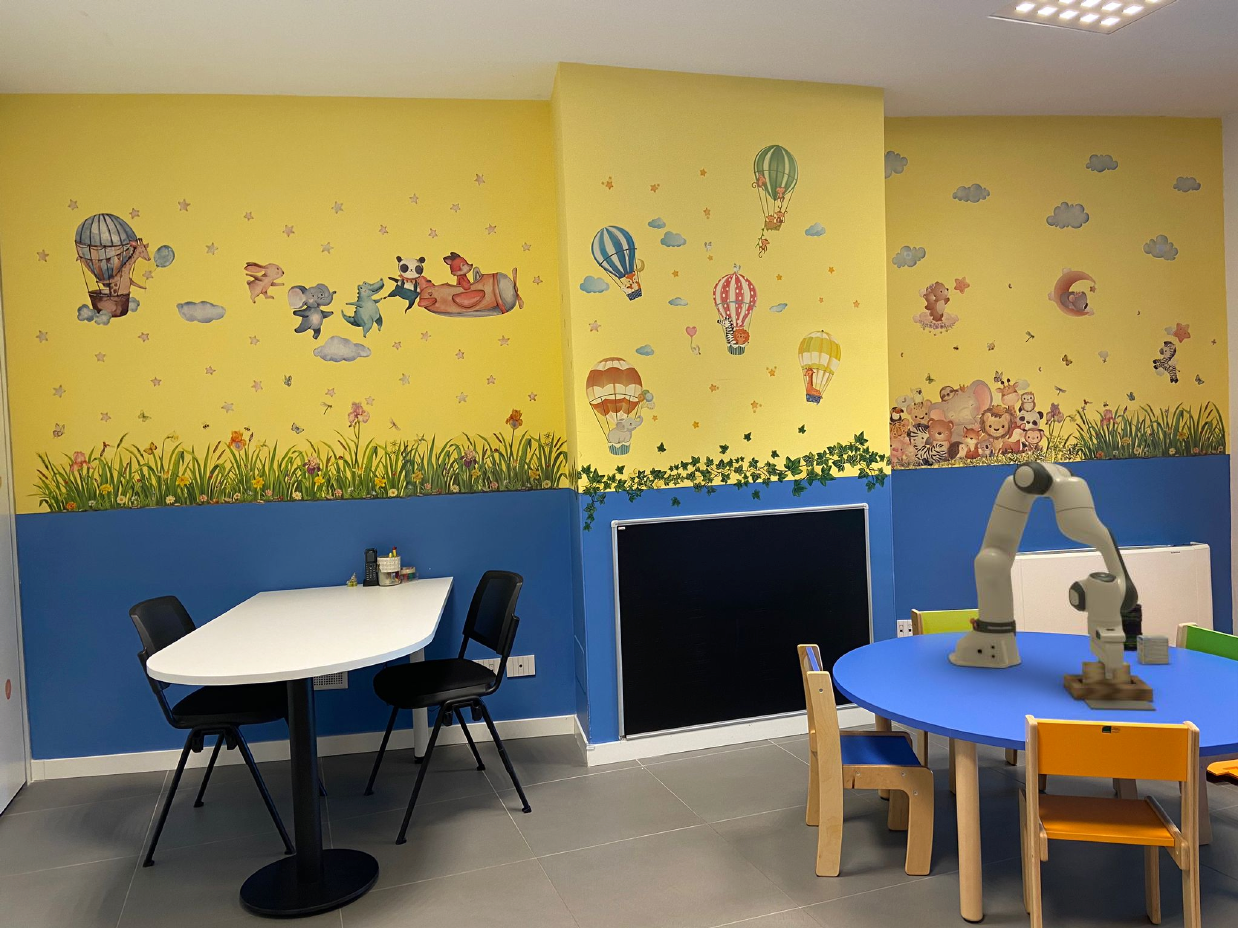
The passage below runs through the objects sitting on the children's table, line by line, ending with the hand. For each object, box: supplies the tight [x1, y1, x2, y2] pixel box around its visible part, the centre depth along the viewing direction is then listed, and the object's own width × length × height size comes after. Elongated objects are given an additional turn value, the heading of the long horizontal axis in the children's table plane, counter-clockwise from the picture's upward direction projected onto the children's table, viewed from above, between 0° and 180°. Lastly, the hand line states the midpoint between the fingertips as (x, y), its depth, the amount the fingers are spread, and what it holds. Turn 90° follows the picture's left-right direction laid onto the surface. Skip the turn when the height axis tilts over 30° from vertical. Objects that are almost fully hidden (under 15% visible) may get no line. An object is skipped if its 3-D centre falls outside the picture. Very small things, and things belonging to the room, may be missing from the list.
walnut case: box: [1062, 673, 1154, 702], centre depth 258 cm, size 20×14×4 cm
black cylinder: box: [1120, 603, 1144, 652], centre depth 306 cm, size 10×10×15 cm
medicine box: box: [1136, 634, 1170, 665], centre depth 287 cm, size 8×4×9 cm, turn 84°
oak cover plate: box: [1081, 661, 1132, 684], centre depth 258 cm, size 12×3×9 cm, turn 76°
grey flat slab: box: [1084, 700, 1157, 712], centre depth 247 cm, size 16×7×1 cm, turn 76°
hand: (1106, 675), depth 258 cm, fingers open, 3 cm apart
